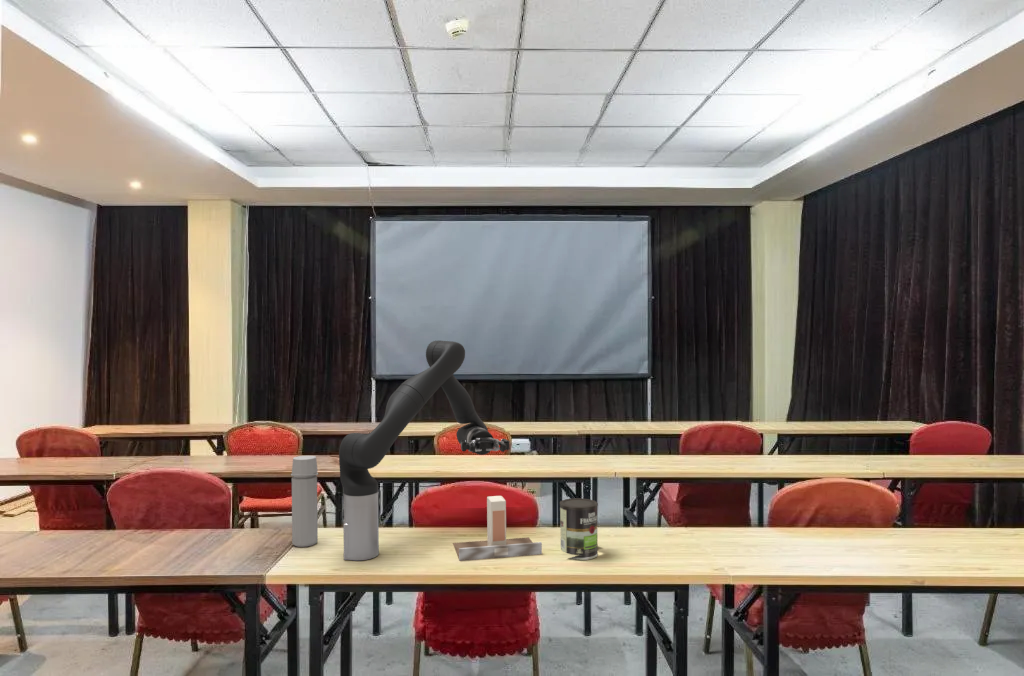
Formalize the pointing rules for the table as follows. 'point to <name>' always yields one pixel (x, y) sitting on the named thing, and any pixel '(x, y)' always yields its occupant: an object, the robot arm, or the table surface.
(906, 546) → the table surface
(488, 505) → the tea box
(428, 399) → the robot arm
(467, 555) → the grey tray
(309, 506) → the water bottle
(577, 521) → the coffee can
